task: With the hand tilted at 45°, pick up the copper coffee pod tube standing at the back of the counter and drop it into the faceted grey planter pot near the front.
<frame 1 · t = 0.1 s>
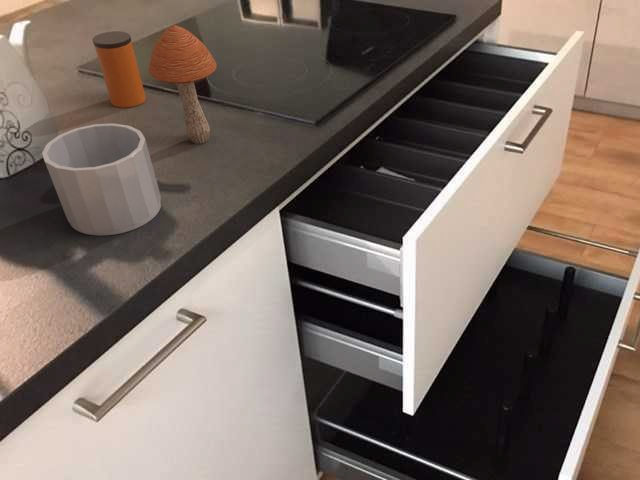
mushroom: (198, 143, 86), on the table
faceted grey planter pot: (115, 209, 74), on the table
pod tube: (128, 100, 95), on the table
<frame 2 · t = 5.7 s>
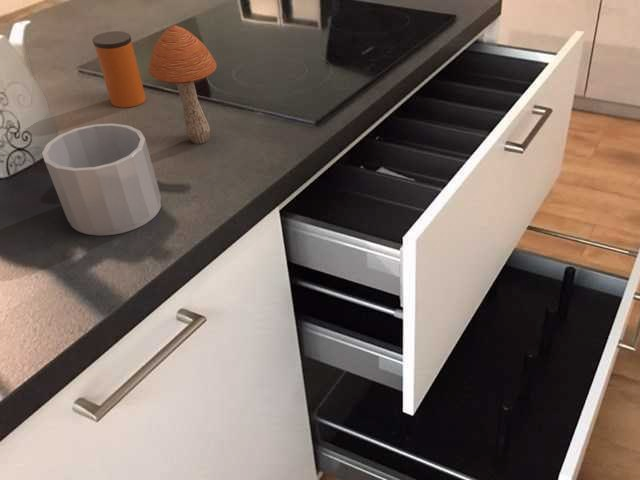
nothing on the table moved.
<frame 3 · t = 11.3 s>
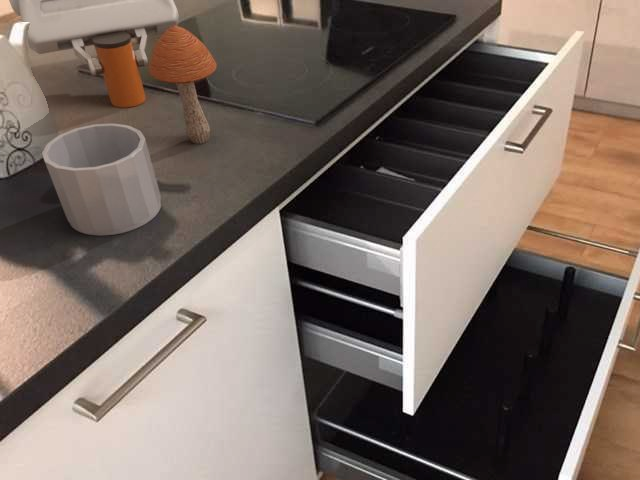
hand: (120, 68, 91), 5 cm above the table, tool tilted 45°, fingers closed on pod tube, 5 cm apart
pod tube: (128, 100, 95), on the table, touching gripper
everything else where it was.
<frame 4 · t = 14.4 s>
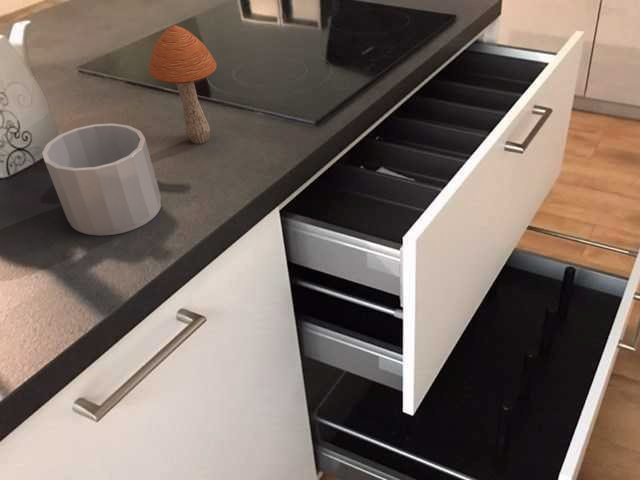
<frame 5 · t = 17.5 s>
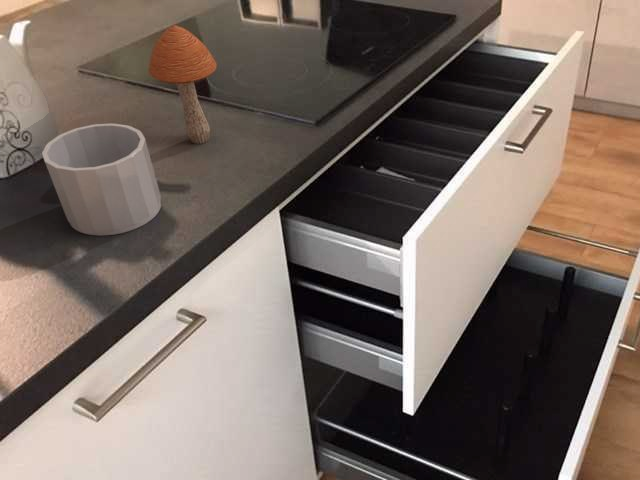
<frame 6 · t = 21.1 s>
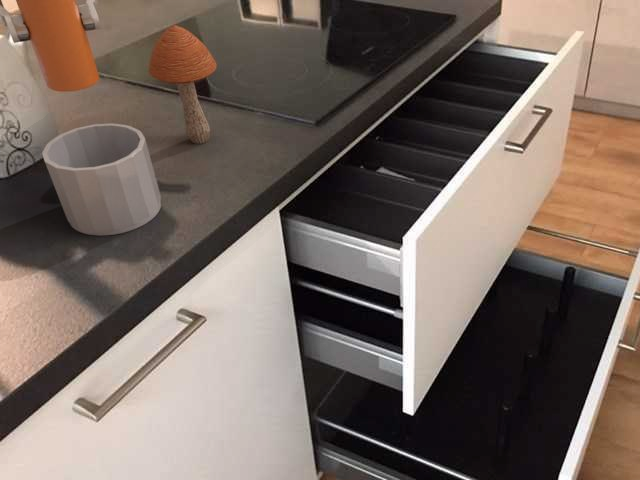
hand: (58, 32, 60), 20 cm above the table, tool tilted 45°, fingers closed on pod tube, 5 cm apart
pod tube: (73, 81, 64), point 15 cm above the table, touching gripper
everything else where it was.
when the fingers open (11 cm above the table, at t = 24.1 s): pod tube drops 5 cm, resting on faceted grey planter pot.
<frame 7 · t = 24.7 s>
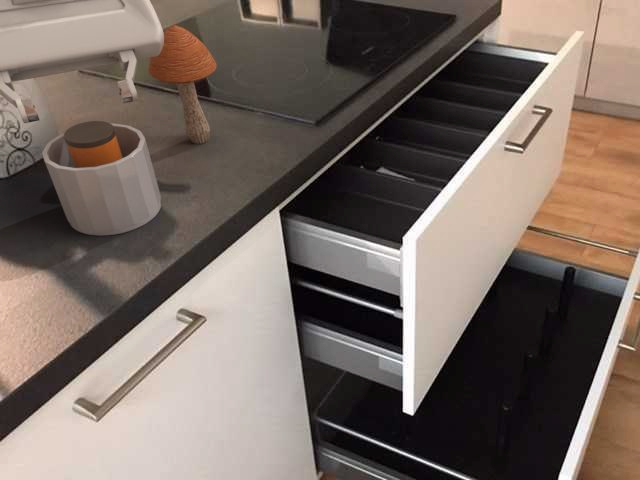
hand: (82, 109, 65), 12 cm above the table, tool tilted 45°, fingers open, 8 cm apart
pod tube: (113, 205, 73), point 1 cm above the table, touching faceted grey planter pot
everything else where it was.
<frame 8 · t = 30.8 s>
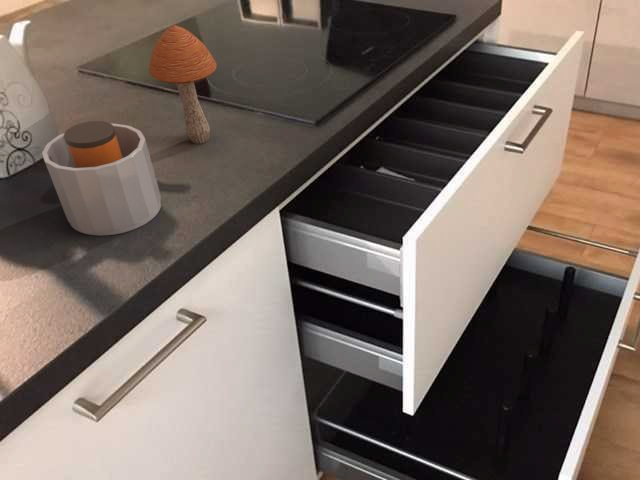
nothing on the table moved.
at the end: pod tube inside the target area in the faceted grey planter pot (0.1 cm from its centre), point 0.6 cm above the faceted grey planter pot's base; the gripper is holding nothing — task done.
